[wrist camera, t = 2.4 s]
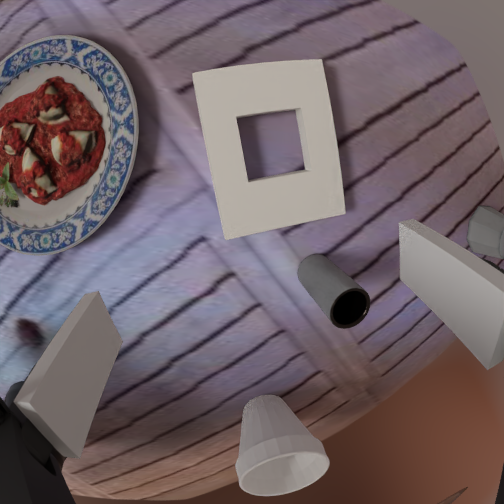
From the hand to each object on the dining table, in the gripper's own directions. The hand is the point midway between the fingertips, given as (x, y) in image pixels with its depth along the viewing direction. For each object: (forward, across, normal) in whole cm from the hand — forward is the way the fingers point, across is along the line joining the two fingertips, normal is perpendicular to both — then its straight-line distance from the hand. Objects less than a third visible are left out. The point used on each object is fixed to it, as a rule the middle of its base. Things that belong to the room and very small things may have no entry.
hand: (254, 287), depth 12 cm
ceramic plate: (+21, +21, -12) cm, 32 cm away
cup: (+21, +4, +34) cm, 40 cm away
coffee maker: (+27, -40, +16) cm, 51 cm away
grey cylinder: (+23, -7, +12) cm, 27 cm away
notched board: (+23, -5, -4) cm, 24 cm away
